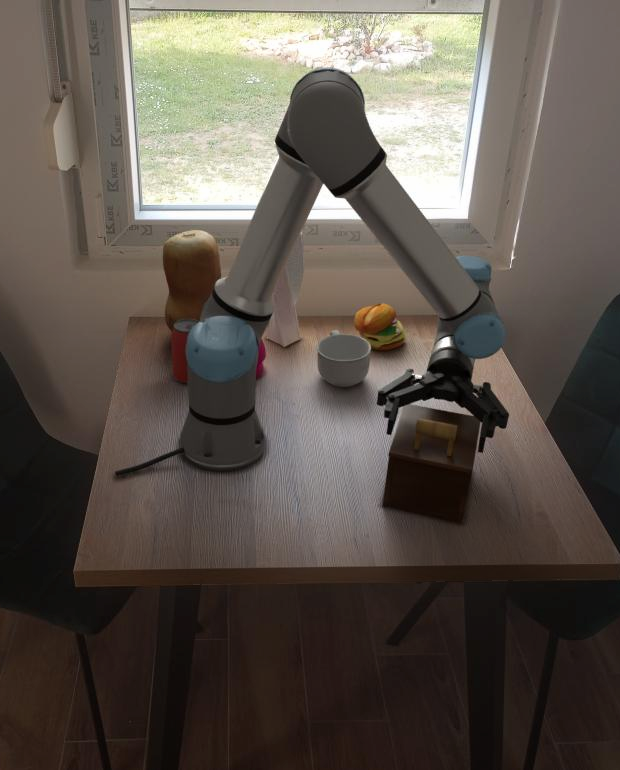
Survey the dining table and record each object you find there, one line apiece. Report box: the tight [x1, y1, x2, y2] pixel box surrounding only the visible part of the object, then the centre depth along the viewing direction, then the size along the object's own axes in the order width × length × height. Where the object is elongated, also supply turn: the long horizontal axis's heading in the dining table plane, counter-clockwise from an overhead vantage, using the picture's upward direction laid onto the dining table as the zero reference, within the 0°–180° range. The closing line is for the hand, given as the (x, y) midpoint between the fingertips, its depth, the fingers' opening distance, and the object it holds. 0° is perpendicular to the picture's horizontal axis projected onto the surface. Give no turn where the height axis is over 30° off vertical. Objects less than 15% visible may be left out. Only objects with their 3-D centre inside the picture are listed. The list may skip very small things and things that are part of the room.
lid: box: [388, 403, 481, 474], centre depth 126 cm, size 15×13×6 cm
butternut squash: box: [162, 229, 222, 333], centre depth 170 cm, size 14×13×25 cm
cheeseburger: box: [354, 302, 407, 351], centre depth 175 cm, size 10×11×10 cm
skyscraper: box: [266, 230, 305, 348], centre depth 170 cm, size 8×8×28 cm
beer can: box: [170, 319, 199, 384], centre depth 160 cm, size 7×7×12 cm
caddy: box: [382, 456, 473, 525], centre depth 131 cm, size 14×13×11 cm
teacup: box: [316, 329, 372, 388], centre depth 162 cm, size 14×11×8 cm
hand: (435, 436), depth 118 cm, fingers open, 13 cm apart
